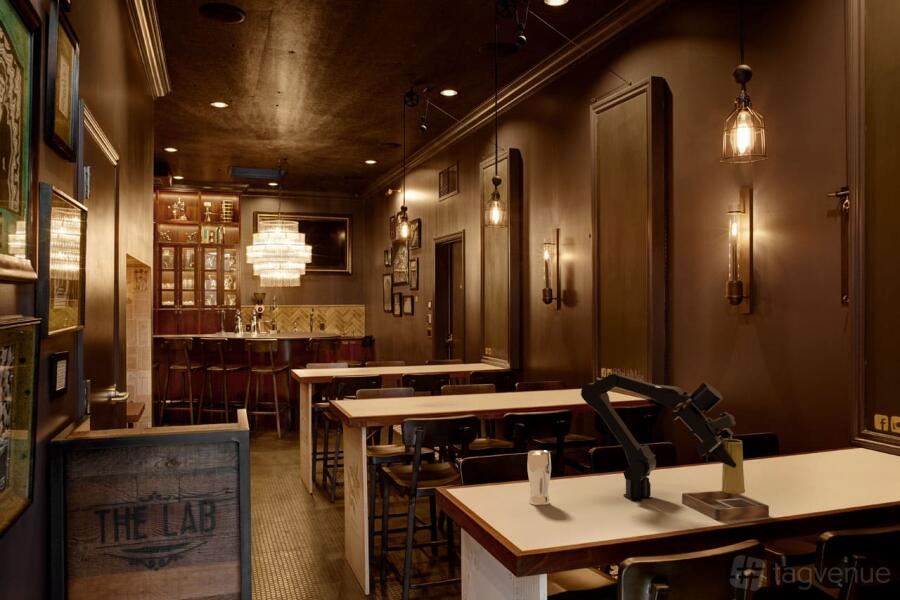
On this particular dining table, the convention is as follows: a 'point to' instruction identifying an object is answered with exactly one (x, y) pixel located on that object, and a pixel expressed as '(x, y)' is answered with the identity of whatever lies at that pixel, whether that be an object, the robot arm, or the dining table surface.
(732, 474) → the vase
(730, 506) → the holder plate
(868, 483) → the dining table surface
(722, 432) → the robot arm
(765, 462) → the dining table surface
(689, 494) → the tray
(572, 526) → the dining table surface
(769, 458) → the dining table surface
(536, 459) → the beer glass
